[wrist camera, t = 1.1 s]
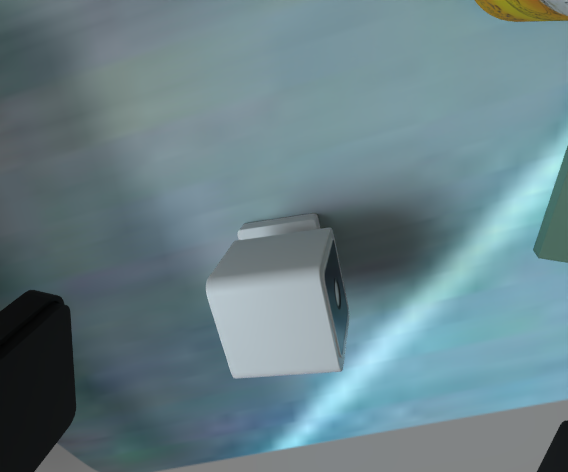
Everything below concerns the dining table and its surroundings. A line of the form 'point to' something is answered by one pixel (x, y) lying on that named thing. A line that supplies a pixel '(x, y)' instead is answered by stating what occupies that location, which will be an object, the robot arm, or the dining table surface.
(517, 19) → the beer can
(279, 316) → the security camera
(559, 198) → the board
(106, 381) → the dining table surface
